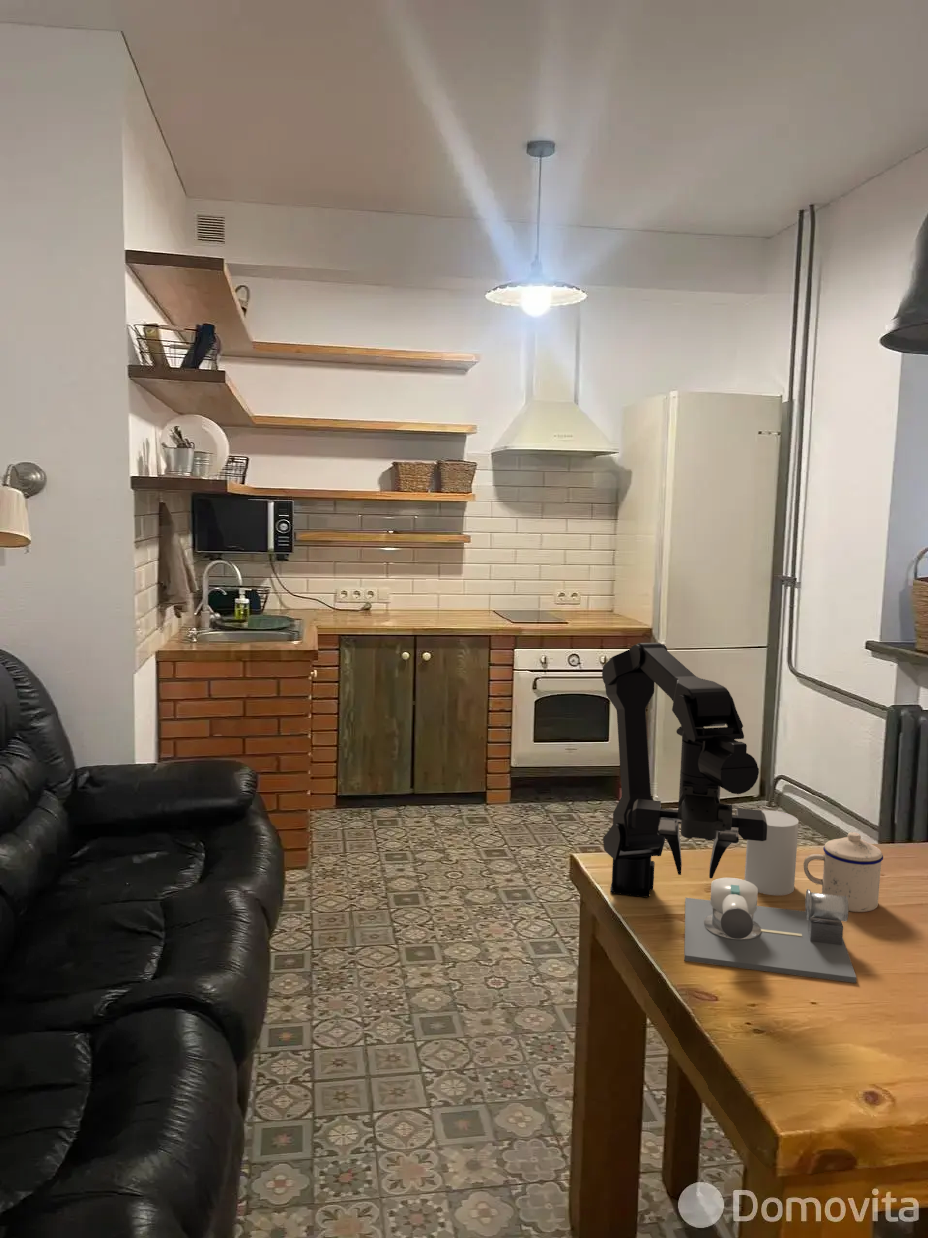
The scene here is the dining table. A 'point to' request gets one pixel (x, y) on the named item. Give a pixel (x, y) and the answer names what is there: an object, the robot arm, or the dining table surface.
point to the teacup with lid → (850, 871)
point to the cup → (774, 855)
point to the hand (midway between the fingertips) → (695, 875)
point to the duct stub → (714, 927)
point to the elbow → (734, 905)
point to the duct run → (825, 917)
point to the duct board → (766, 945)
